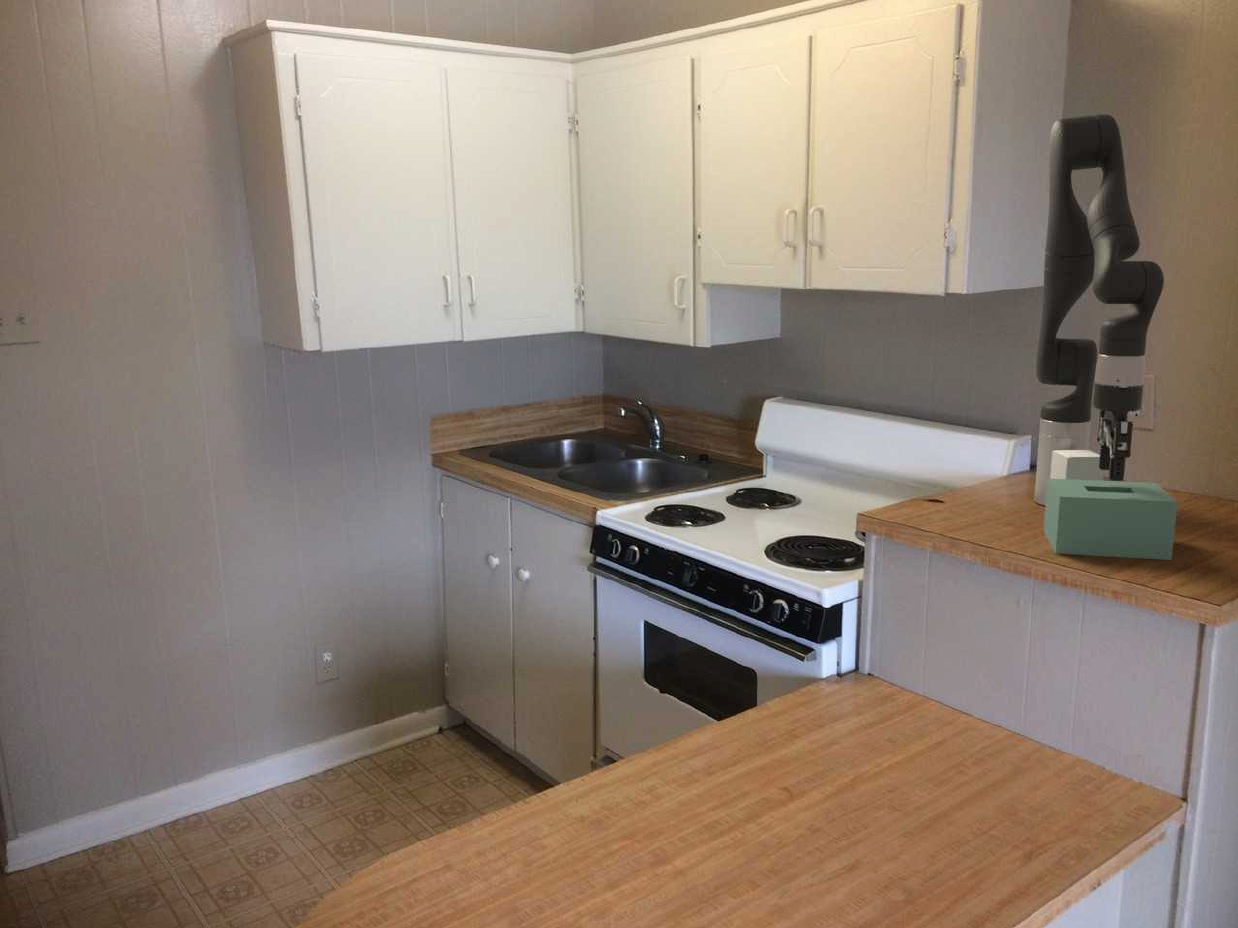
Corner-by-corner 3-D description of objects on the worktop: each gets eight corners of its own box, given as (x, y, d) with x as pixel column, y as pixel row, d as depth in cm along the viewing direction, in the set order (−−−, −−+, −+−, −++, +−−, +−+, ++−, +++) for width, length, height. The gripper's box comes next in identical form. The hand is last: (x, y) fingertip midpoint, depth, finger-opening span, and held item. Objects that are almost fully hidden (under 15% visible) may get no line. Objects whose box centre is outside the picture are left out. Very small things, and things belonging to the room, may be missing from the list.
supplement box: (1101, 522, 195) (1106, 456, 192) (1061, 522, 195) (1066, 457, 192) (1084, 512, 202) (1089, 449, 199) (1046, 512, 202) (1051, 449, 200)
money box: (1043, 531, 189) (1047, 478, 187) (1150, 537, 184) (1156, 482, 182) (1055, 553, 176) (1060, 496, 173) (1171, 560, 171) (1177, 501, 169)
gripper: (1087, 375, 182) (1079, 465, 185) (1103, 386, 168) (1095, 483, 172) (1133, 376, 180) (1125, 467, 183) (1153, 387, 166) (1144, 485, 170)
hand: (1110, 474), depth 177 cm, fingers open, 8 cm apart
